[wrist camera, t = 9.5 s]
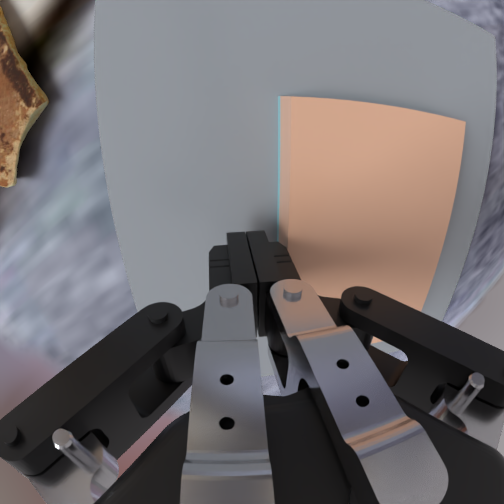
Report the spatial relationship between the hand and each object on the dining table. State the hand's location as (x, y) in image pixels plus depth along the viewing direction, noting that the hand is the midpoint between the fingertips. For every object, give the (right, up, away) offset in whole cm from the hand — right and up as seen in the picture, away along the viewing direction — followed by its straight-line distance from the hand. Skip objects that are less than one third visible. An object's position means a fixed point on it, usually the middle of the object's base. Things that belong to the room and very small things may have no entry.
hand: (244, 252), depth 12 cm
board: (+4, +2, +2) cm, 5 cm away
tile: (+1, 0, 0) cm, 2 cm away
